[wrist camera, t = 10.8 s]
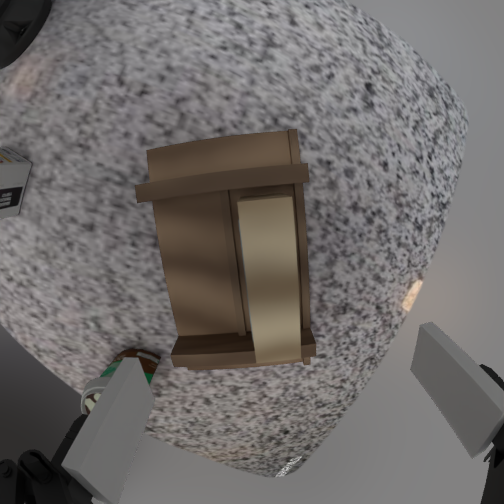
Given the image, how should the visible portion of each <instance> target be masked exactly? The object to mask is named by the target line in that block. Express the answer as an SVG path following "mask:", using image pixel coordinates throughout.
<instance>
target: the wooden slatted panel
mask: <svg viewBox="0 0 504 504" xmlns="http://www.w3.org/2000/svg"><path fill="white" fill-rule="evenodd" d="M147 160H148V170H149V179H150V183H145V184H139V185H135V190H136V198H137V203H141V202H147V201H152V203H153V210H154V217H155V223H156V230H157V236H158V242H159V247H160V253H161V258H162V264H163V269H164V274H165V279H166V284H167V288H168V293H169V298H170V302H171V306H172V311H173V315H174V319H175V323H176V327H177V331H178V335H179V336H178V339H177V341H176V343H175V346H174V348H173V350H172V353H171V359H172V362H173V365H174V367H187V368H188V370H214V369H233V368H248V367H260V366H270V365H279V364H288V363H296V362H303V364H304V365H310V357H313V356H316V342H315V339H314V337H313V334H312V331H311V329H310V294H309V269H308V249H307V233H306V218H305V205H304V193H303V183H304V182H309V172H308V163H306V164H301V162H300V152H299V143H298V135H297V129H288V131H278V132H265V133H254V134H244V135H235V136H227V137H219V138H212V139H205V140H198V141H192V142H186V143H181V144H175V145H170V146H165V147H160V148H155V149H150V150H147ZM275 193H283V194H286V195H289V196H291V197H292V200H293V212H294V225H295V238H296V253H297V269H298V287H299V309H300V337H301V358H300V359H292V360H284V361H275V362H265V363H256V356H255V348H254V342H253V339H252V331H251V323H250V315H249V307H248V299H247V290H246V282H245V274H244V265H243V257H242V248H241V240H240V231H239V223H238V220H239V213H238V205H237V202H238V200H239V199H240V197H245V196H254V195H264V194H275Z"/></svg>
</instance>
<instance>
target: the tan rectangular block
mask: <svg viewBox="0 0 504 504" xmlns="http://www.w3.org/2000/svg"><path fill="white" fill-rule="evenodd" d="M237 205H238V213H239V220H238V223H239V231H240V240H241V248H242V257H243V265H244V274H245V282H246V290H247V299H248V307H249V315H250V323H251V331H252V339H253V342H254V348H255V356H256V363H265V362H275V361H284V360H292V359H300V358H301V337H300V309H299V287H298V269H297V253H296V238H295V225H294V212H293V200H292V197H291V196H289V195H286V194H283V193H275V194H264V195H254V196H245V197H240V199H239V200H238V202H237Z"/></svg>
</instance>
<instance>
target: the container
mask: <svg viewBox="0 0 504 504" xmlns="http://www.w3.org/2000/svg"><path fill="white" fill-rule="evenodd" d="M31 165H32V164H31V162H29V161H28V160H26V159H25V158H23V157H21V156H20V155H18V154H17V153H15V152H14V151H12V150H10V149H9V148H7V147H0V219H3V218H7V217H11V216H15V215H18V214H19V210H20V205H21V201H22V197H23V193H24V189H25V186H26V182H27V178H28V175H29V172H30V169H31Z"/></svg>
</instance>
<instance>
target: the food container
mask: <svg viewBox="0 0 504 504" xmlns="http://www.w3.org/2000/svg"><path fill="white" fill-rule="evenodd" d="M124 357H130V358H139V361H140V364H141V366H142V369H143V372H144V374H145V377H146V379H147V382H148V384H150V382H151V380H152V377H153V375H154V372H155V370H156V368H157V365H158V363H159V361H160V358H161V357H160V356H158V355H156V354H154V353H152V352H149V351H146V350H143V349H128V350H124V351H122V352H121V353H120V354H119V355H118V356H117V357H116V358H115V359H114V361H113V362H112V363H111V364H110V365H109V366H108V368H107V369H106V370H105V371H104V372H103V374H102V375H101V376H100V377H99V378H95V379H93V380H90V381H89V382H88V383H87V384H86V386H85V388H84V391H83V394H82V398H81V410H82V413H83V414H86V415H89V414H90V412H91V411H92V409H93V407H94V405H95V404H96V402H97V400H98V399H99V397H100V395H101V394H102V392H103V391H104V389H105V387H106V386H107V384H108V382H109V381H110V379H111V377H112V376H113V374H114V373H115V371H116V369H117V368H118V366H119V365H120V363H121V362H122V360H123V358H124Z"/></svg>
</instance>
